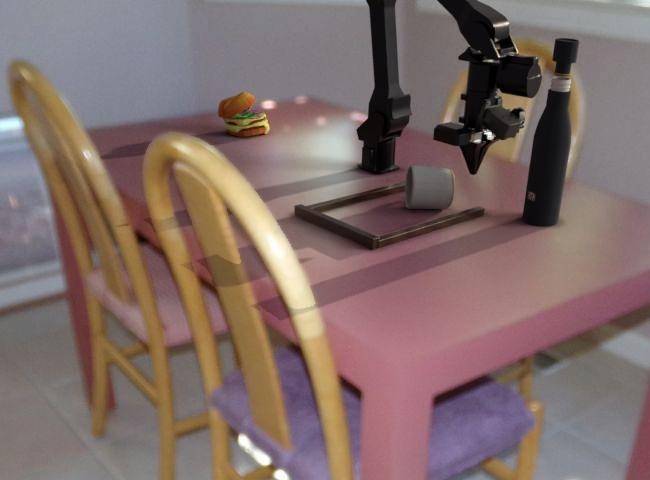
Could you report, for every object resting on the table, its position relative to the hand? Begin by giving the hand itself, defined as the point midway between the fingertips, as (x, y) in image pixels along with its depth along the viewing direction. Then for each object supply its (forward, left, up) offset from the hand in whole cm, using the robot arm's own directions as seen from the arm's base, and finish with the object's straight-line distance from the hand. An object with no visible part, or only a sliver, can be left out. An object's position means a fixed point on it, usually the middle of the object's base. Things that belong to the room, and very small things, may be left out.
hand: (473, 174), depth 153 cm
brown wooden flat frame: (+22, 0, -3) cm, 22 cm away
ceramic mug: (+13, 0, -4) cm, 14 cm away
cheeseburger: (+10, -61, -4) cm, 62 cm away
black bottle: (+2, +18, -4) cm, 18 cm away
